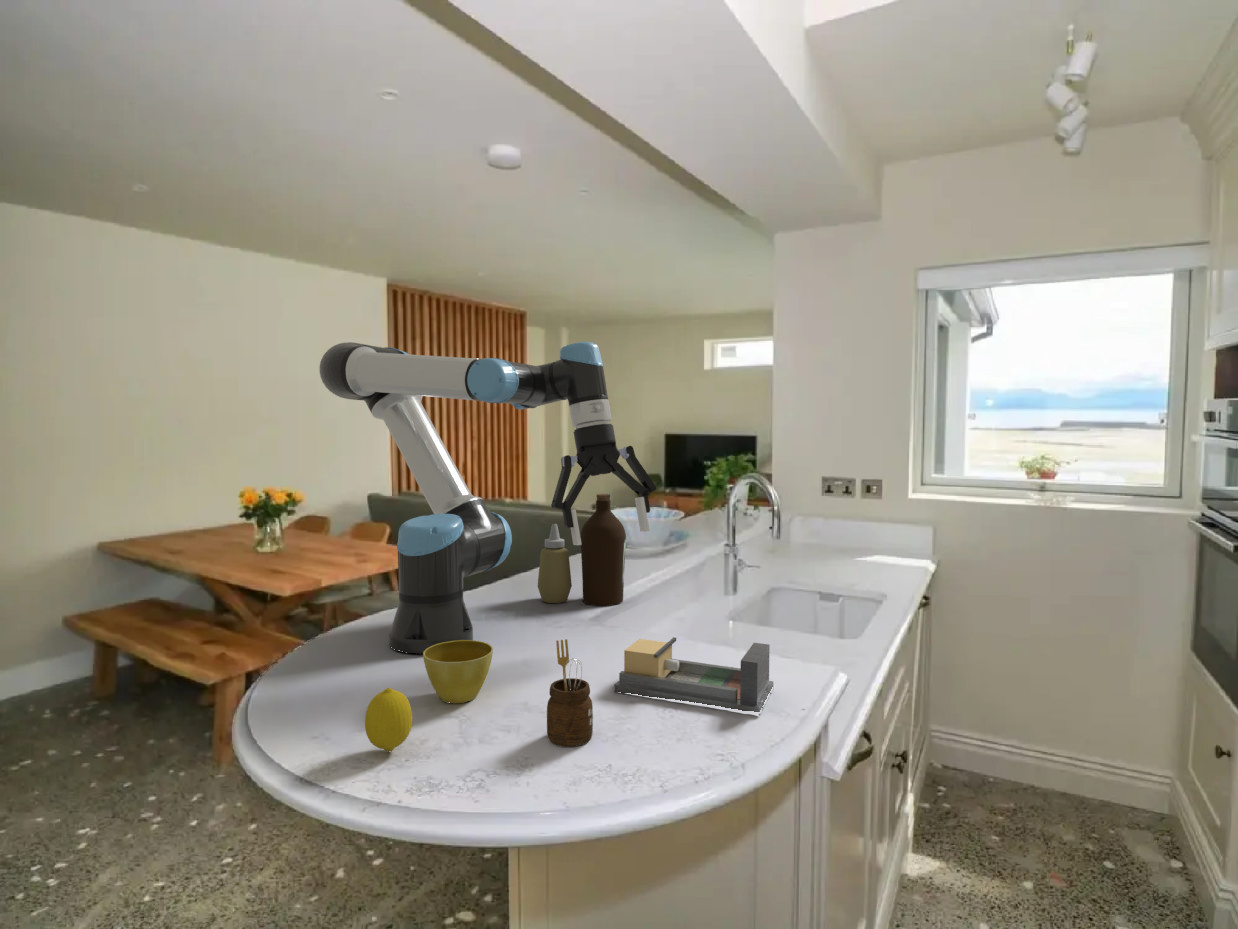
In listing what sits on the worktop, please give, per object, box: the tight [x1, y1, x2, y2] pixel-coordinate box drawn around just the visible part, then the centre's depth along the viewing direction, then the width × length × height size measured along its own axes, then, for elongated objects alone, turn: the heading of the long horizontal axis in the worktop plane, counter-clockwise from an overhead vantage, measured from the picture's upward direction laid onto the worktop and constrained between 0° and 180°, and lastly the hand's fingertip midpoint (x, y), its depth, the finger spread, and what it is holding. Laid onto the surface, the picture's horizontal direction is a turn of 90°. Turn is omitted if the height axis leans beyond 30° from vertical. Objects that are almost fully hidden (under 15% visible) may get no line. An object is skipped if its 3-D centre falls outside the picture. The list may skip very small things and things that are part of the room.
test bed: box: [613, 642, 774, 712], centre depth 104 cm, size 22×11×7 cm, turn 67°
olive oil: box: [580, 493, 627, 607], centre depth 159 cm, size 11×11×25 cm
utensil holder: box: [546, 638, 594, 748], centre depth 88 cm, size 6×6×12 cm
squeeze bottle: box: [537, 523, 573, 604], centre depth 159 cm, size 8×8×18 cm
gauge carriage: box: [623, 637, 679, 677], centre depth 107 cm, size 8×9×5 cm
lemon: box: [364, 687, 413, 752], centre depth 84 cm, size 6×6×8 cm
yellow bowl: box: [422, 639, 494, 704], centre depth 101 cm, size 10×10×7 cm
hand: (611, 538), depth 127 cm, fingers open, 13 cm apart
